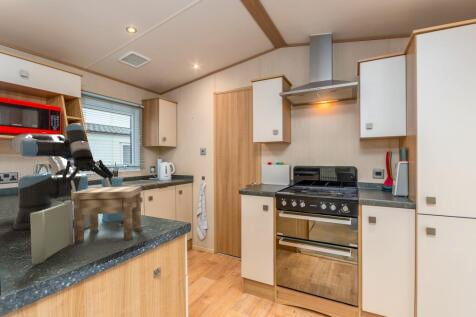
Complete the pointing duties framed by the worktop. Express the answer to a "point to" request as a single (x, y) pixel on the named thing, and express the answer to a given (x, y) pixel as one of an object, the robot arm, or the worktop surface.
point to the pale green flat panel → (51, 231)
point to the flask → (86, 221)
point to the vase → (112, 216)
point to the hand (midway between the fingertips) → (93, 193)
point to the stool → (107, 208)
